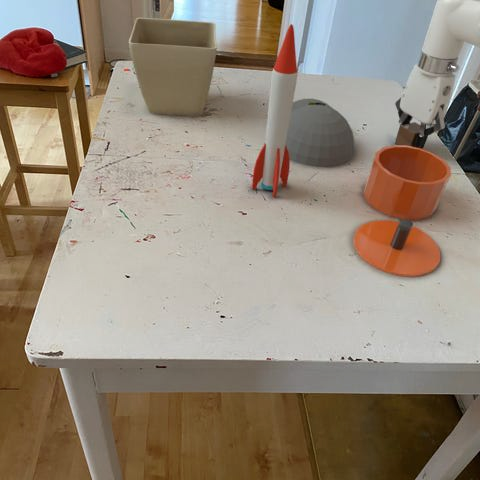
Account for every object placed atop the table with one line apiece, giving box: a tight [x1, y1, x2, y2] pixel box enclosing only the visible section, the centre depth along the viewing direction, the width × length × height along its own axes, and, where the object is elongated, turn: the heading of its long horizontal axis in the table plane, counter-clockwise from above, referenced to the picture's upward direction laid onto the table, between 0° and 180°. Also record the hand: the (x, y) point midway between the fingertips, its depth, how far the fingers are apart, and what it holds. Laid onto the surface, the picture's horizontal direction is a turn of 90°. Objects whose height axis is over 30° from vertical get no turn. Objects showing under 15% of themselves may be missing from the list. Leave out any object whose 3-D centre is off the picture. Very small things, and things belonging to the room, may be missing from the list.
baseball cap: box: [286, 98, 355, 168], centre depth 109 cm, size 19×26×12 cm
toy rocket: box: [251, 23, 298, 199], centre depth 86 cm, size 6×6×30 cm
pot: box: [363, 144, 452, 221], centre depth 94 cm, size 15×15×8 cm
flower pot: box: [128, 17, 218, 117], centre depth 114 cm, size 19×19×17 cm
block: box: [394, 121, 421, 147], centre depth 110 cm, size 5×5×5 cm
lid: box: [352, 219, 441, 278], centre depth 84 cm, size 16×16×6 cm
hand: (408, 145), depth 112 cm, fingers closed on block, 4 cm apart
